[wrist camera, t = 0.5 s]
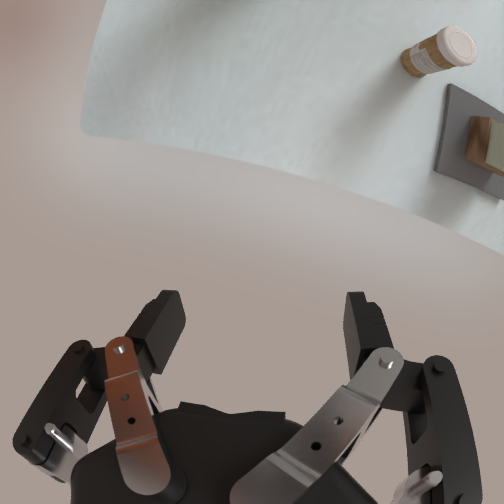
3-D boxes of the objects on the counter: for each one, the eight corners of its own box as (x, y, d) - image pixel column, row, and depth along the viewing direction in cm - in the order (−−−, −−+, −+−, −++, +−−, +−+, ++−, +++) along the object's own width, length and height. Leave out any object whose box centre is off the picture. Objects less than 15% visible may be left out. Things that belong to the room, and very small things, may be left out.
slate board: (447, 84, 27) (451, 83, 26) (515, 123, 26) (518, 124, 25) (433, 170, 33) (436, 171, 32) (500, 198, 32) (504, 200, 31)
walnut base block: (471, 115, 27) (490, 117, 23) (500, 132, 27) (519, 136, 22) (464, 158, 30) (482, 164, 26) (493, 172, 30) (511, 180, 25)
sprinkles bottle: (416, 45, 25) (462, 21, 13) (433, 72, 27) (484, 59, 15) (394, 54, 27) (436, 29, 15) (411, 82, 28) (460, 69, 16)
